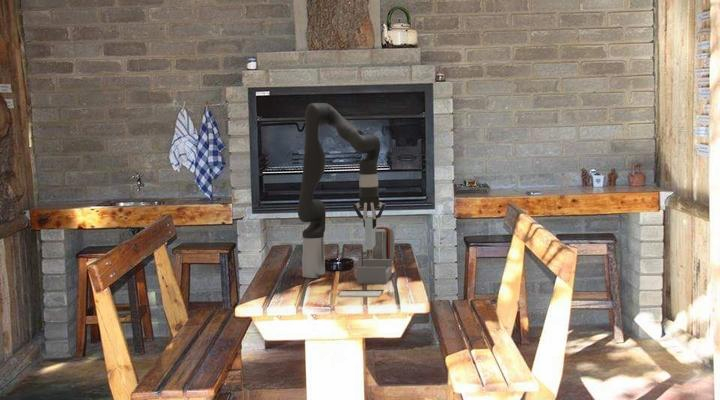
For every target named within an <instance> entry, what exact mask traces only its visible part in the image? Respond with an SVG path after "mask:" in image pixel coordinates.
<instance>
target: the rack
mask: <svg viewBox="0 0 720 400" xmlns="http://www.w3.org/2000/svg"><path fill="white" fill-rule="evenodd" d="M355 267H356V268H355V269H356V275H357V279H356V284H357V285H360V284H361V285H362V284H363V285H365V284H366V285H386V284H387V283H388V282H389V280H390V278H391V277H392V274H393V273H392V265H391V259H372V258H363V259H362V266H355Z"/></svg>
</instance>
